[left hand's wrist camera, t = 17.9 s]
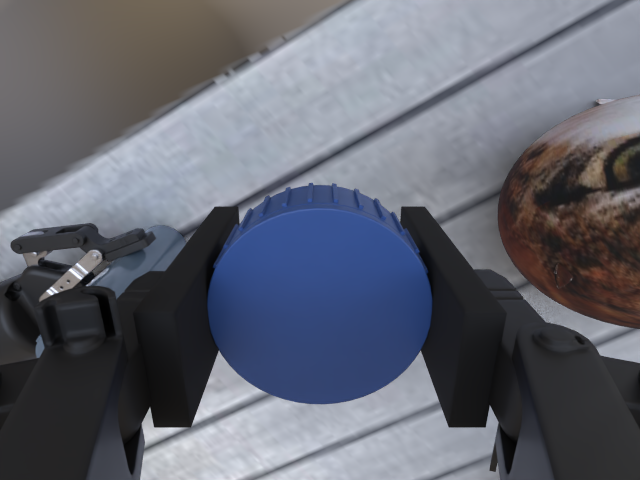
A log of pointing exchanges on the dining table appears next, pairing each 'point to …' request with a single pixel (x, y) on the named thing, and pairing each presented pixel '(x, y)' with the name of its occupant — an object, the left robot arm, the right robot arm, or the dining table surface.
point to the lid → (319, 296)
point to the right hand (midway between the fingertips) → (165, 265)
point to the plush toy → (580, 212)
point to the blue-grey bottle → (137, 264)
